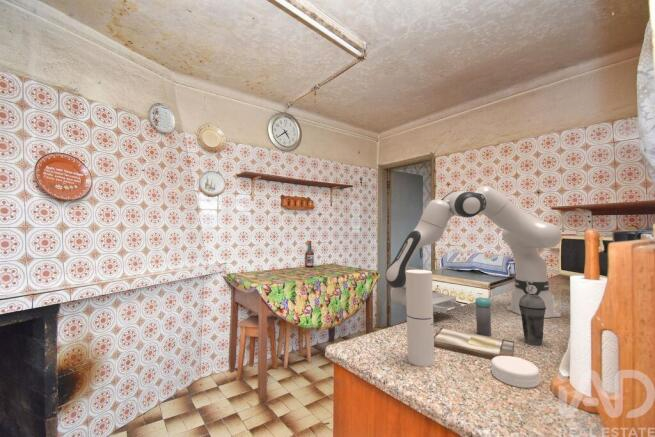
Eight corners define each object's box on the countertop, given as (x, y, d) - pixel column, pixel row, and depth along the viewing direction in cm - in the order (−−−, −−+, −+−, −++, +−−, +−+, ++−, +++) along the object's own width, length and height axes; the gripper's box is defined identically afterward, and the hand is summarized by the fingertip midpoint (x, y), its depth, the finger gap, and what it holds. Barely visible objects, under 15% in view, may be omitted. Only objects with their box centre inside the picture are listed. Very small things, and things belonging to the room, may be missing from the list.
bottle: (477, 330, 103) (476, 297, 103) (492, 333, 100) (491, 298, 100) (475, 334, 99) (474, 299, 99) (490, 337, 96) (489, 301, 97)
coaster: (524, 393, 64) (524, 377, 64) (483, 374, 73) (482, 360, 73) (548, 382, 69) (547, 367, 69) (506, 364, 77) (505, 351, 78)
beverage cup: (552, 348, 87) (550, 282, 88) (526, 346, 89) (523, 281, 89) (540, 338, 94) (537, 278, 95) (515, 337, 96) (513, 277, 96)
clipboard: (441, 331, 102) (440, 325, 102) (514, 345, 90) (513, 338, 90) (429, 345, 90) (428, 338, 90) (511, 363, 77) (511, 355, 78)
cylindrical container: (402, 357, 82) (400, 270, 83) (422, 353, 85) (419, 269, 86) (419, 368, 76) (417, 274, 76) (440, 363, 78) (437, 272, 79)
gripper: (406, 297, 114) (436, 304, 103) (437, 290, 126) (467, 296, 115) (407, 313, 114) (437, 321, 103) (437, 304, 126) (468, 311, 114)
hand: (453, 308), depth 109 cm, fingers open, 8 cm apart
